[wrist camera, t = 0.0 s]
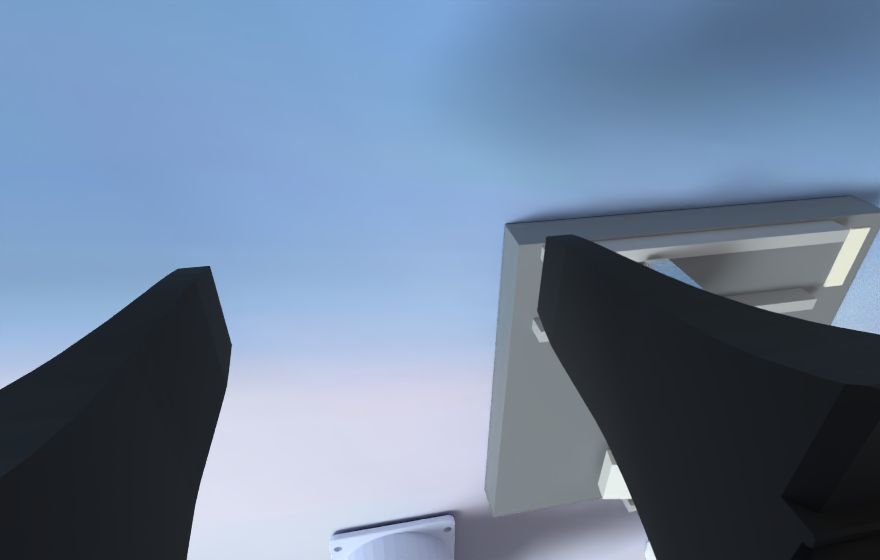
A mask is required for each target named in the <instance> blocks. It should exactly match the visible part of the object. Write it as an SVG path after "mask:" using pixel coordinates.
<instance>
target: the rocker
mask: <svg viewBox="0 0 880 560" xmlns="http://www.w3.org/2000/svg"><path fill="white" fill-rule="evenodd" d="M598 486H599V489H600V492H601V496H602V499H632V498H631V495H630V493H629V491H628V488H627V486H626V483H625V481H624V479H623V477H622V474H621V472H620V470H619V468H618V466H617V463H616V461H615V459H614V457H613V455H612V453H611V450H607V451H606V455H605V458H604V462H603V466H602V470H601V474H600V478H599V481H598Z"/></svg>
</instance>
